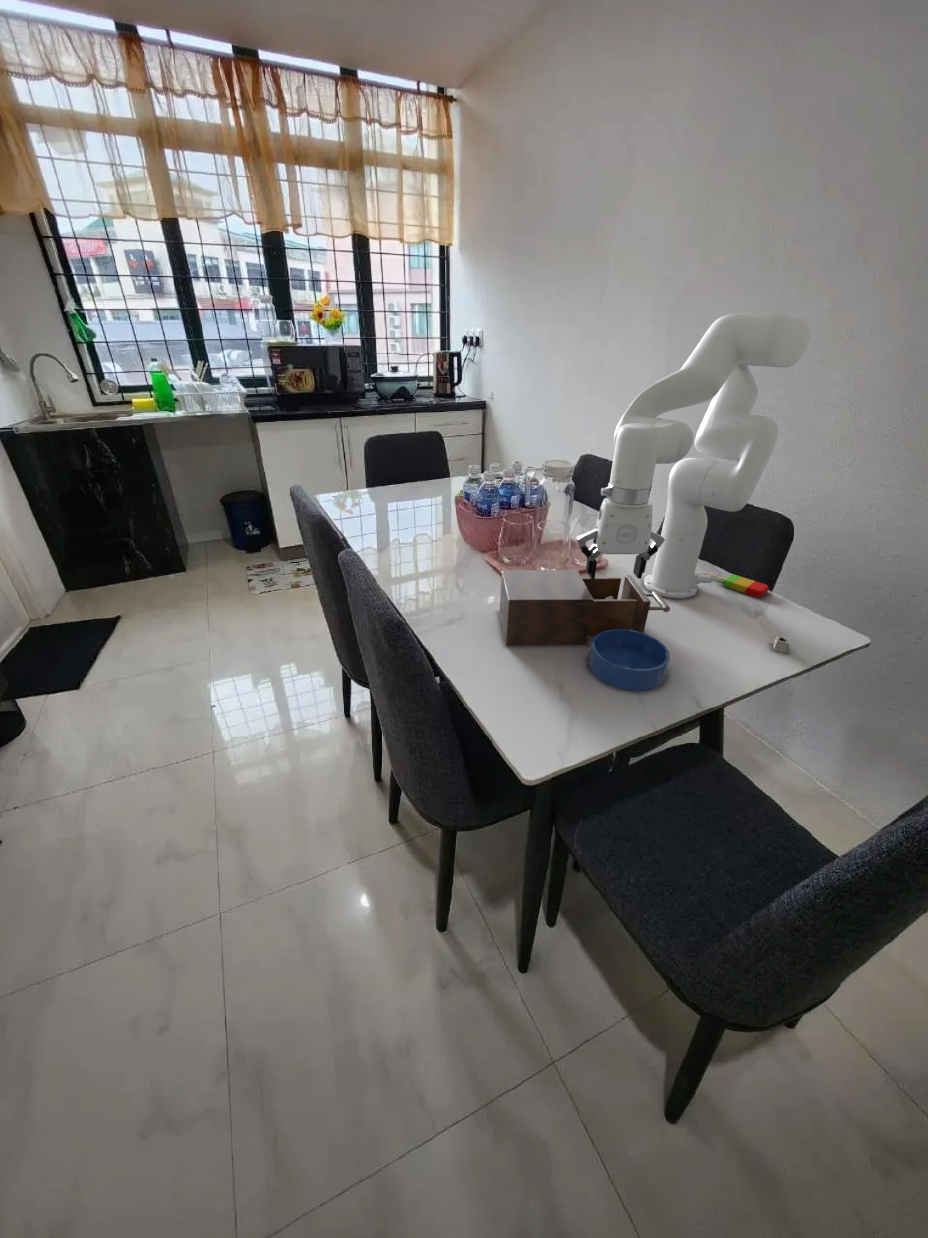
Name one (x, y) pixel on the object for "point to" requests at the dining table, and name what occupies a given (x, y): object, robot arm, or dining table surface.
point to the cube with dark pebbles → (781, 644)
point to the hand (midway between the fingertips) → (613, 575)
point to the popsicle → (743, 585)
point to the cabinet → (544, 607)
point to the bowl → (628, 659)
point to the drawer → (619, 604)
